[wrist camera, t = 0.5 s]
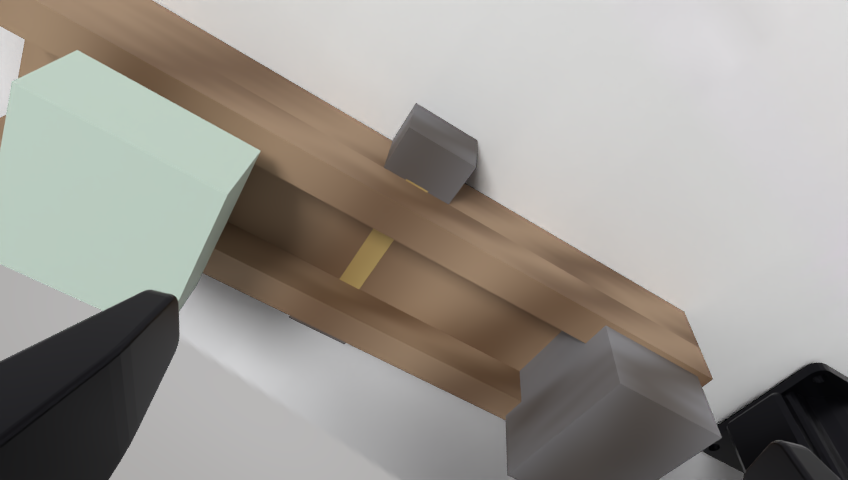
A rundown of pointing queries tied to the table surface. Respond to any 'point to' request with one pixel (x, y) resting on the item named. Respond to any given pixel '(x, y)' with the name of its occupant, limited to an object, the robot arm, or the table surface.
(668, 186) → the table surface
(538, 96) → the table surface
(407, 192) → the beam
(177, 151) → the block
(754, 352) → the table surface
